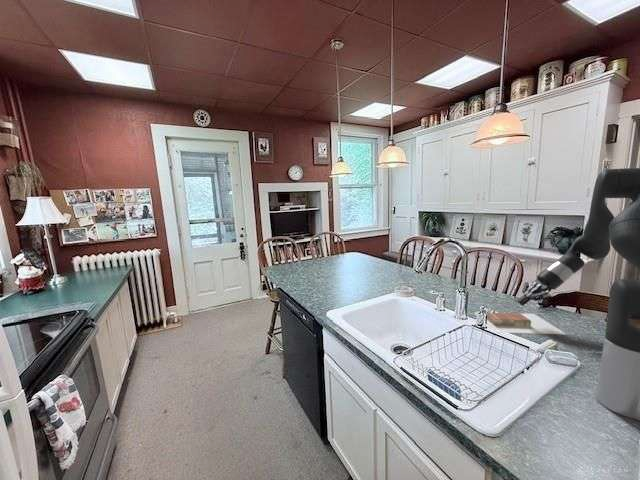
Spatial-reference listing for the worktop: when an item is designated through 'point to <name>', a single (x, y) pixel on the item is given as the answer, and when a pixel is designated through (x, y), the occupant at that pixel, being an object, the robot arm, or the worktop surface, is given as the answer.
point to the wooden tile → (508, 319)
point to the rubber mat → (536, 327)
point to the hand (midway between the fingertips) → (519, 303)
